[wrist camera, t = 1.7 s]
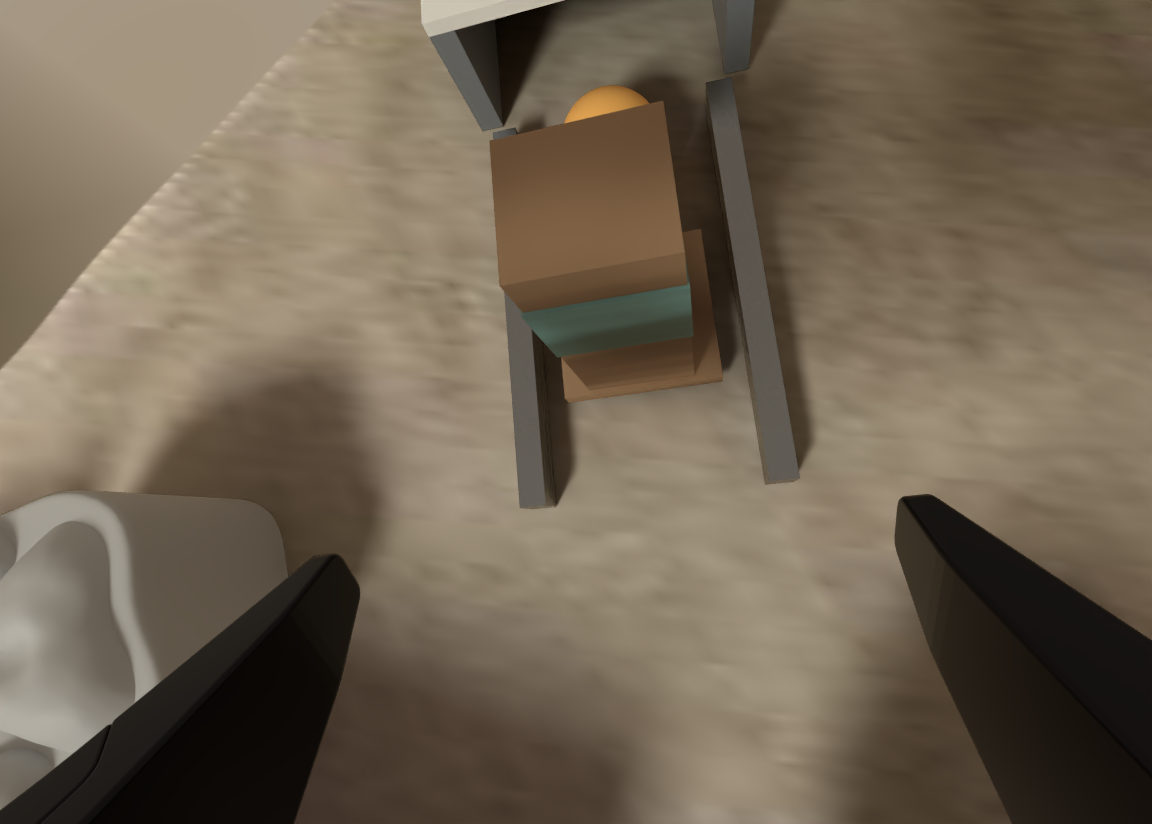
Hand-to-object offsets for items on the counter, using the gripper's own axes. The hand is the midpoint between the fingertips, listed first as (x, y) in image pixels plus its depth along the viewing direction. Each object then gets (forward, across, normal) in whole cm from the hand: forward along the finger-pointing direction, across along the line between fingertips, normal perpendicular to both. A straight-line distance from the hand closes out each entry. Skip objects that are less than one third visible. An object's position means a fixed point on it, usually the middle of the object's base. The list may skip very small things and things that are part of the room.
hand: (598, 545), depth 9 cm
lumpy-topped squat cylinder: (+8, +22, +12) cm, 26 cm away
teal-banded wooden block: (+16, 0, +3) cm, 16 cm away
